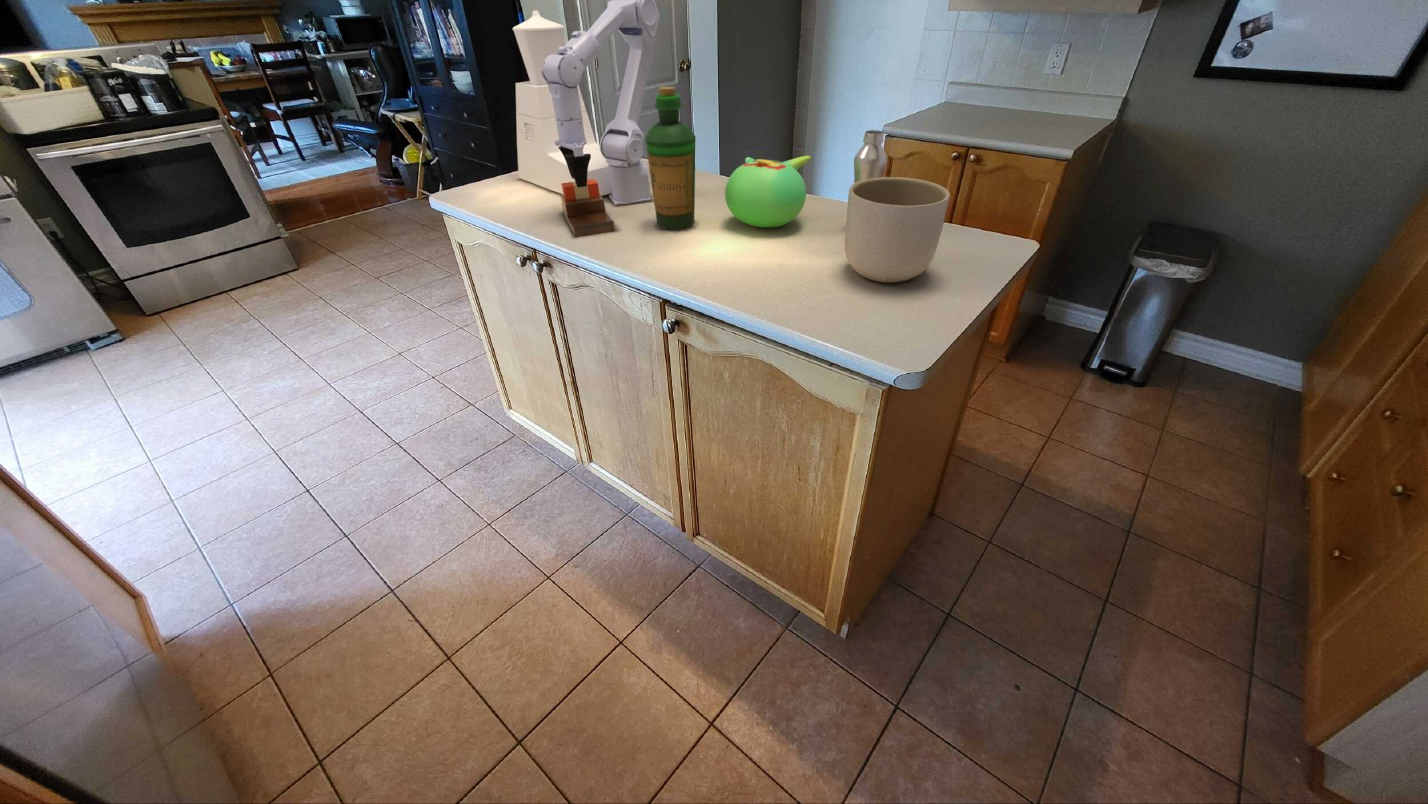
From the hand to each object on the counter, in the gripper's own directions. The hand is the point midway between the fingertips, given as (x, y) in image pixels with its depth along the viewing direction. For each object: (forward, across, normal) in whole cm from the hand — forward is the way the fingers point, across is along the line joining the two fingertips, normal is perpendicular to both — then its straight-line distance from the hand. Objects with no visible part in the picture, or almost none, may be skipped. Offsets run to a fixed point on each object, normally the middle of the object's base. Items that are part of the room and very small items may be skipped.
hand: (579, 182), depth 133 cm
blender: (+8, -28, +3) cm, 29 cm away
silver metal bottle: (+8, +35, +56) cm, 66 cm away
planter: (+8, +56, +48) cm, 74 cm away
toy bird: (+8, +23, +38) cm, 45 cm away
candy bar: (+3, 0, 0) cm, 3 cm away
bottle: (+8, +15, +19) cm, 25 cm away
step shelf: (+8, +4, 0) cm, 9 cm away
